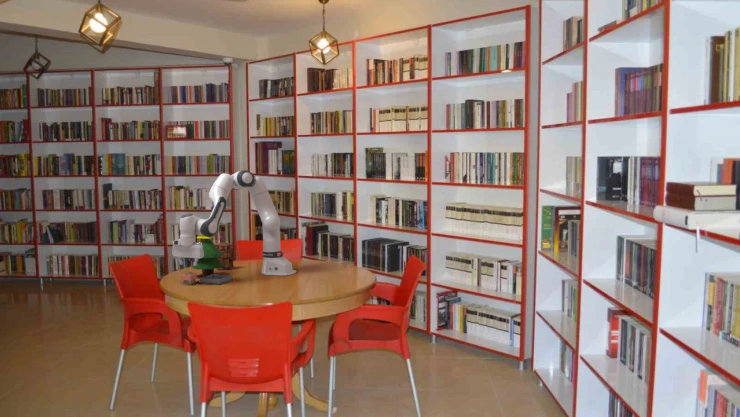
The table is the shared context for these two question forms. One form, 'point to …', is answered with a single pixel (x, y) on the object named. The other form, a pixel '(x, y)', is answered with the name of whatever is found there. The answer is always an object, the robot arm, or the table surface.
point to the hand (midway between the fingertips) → (188, 264)
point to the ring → (189, 277)
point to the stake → (186, 282)
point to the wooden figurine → (226, 256)
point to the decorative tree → (208, 257)
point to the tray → (216, 279)
